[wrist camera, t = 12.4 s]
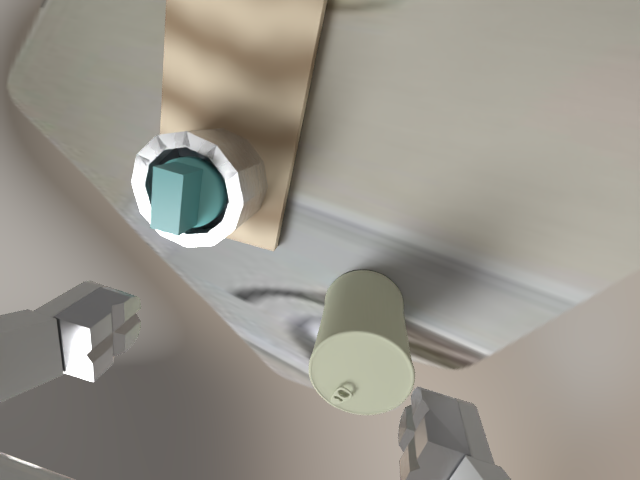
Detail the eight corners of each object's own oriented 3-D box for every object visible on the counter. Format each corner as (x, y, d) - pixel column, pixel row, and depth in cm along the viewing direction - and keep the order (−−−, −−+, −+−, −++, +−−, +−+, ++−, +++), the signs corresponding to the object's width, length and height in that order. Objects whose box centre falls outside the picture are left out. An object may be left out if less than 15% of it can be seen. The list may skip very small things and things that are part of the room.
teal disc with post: (166, 148, 28) (130, 153, 24) (231, 166, 28) (207, 174, 24) (162, 212, 31) (128, 227, 26) (222, 230, 30) (198, 247, 26)
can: (310, 310, 40) (287, 383, 29) (354, 254, 37) (346, 313, 26) (372, 349, 41) (372, 436, 30) (420, 298, 37) (440, 375, 26)
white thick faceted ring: (223, 108, 32) (186, 105, 25) (285, 190, 34) (265, 207, 27) (159, 167, 35) (110, 178, 28) (219, 239, 37) (186, 265, 30)
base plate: (178, -46, 29) (168, -54, 28) (329, -10, 28) (327, -17, 27) (164, 214, 38) (156, 218, 37) (277, 246, 38) (273, 251, 36)
